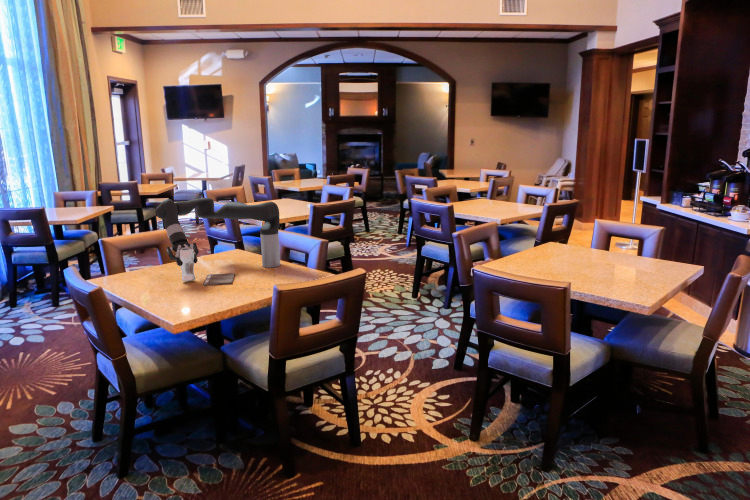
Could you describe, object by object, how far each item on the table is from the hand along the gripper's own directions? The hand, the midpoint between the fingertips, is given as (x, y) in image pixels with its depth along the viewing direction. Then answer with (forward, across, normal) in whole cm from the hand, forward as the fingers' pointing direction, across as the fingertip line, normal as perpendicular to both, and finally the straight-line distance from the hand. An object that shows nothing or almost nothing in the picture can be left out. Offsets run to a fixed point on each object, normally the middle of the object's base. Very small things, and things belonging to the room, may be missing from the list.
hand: (188, 263), depth 254 cm
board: (+10, -12, -3) cm, 16 cm away
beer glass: (+5, 0, -7) cm, 8 cm away
